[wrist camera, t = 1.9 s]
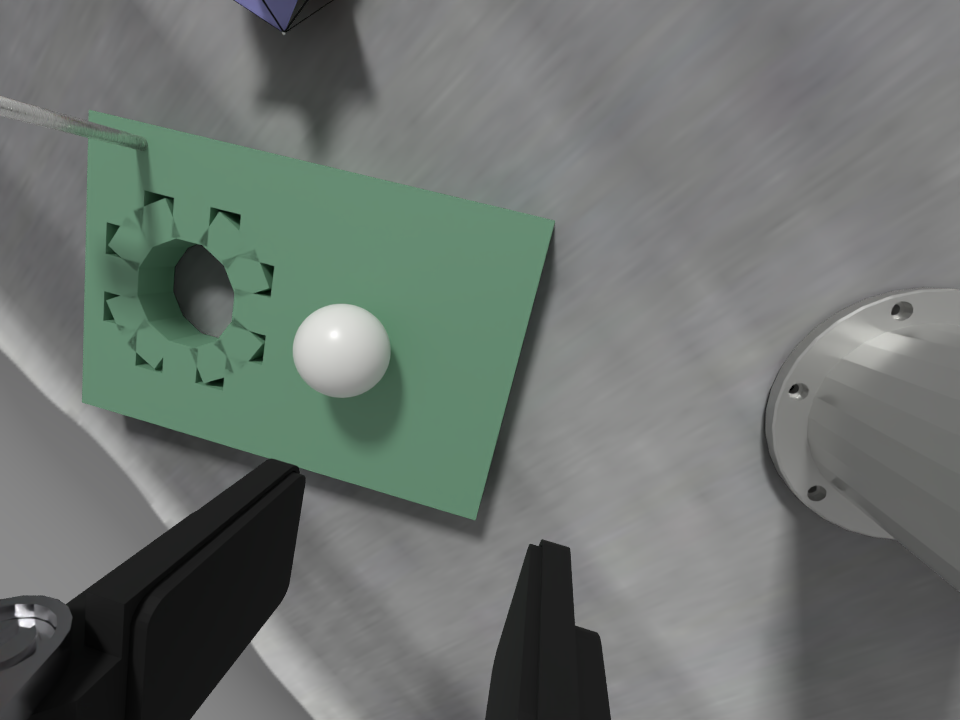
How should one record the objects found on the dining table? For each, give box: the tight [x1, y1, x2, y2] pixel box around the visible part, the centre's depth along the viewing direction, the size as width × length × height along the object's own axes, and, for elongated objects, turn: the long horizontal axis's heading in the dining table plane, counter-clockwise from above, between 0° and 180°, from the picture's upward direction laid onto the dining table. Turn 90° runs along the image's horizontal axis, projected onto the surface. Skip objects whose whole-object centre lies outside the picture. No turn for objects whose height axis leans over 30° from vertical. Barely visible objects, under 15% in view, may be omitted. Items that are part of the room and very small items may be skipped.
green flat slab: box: [82, 110, 555, 520], centre depth 26 cm, size 24×16×2 cm, turn 77°
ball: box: [293, 304, 391, 398], centre depth 22 cm, size 4×4×4 cm
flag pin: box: [0, 96, 148, 151], centre depth 21 cm, size 4×1×10 cm, turn 77°
